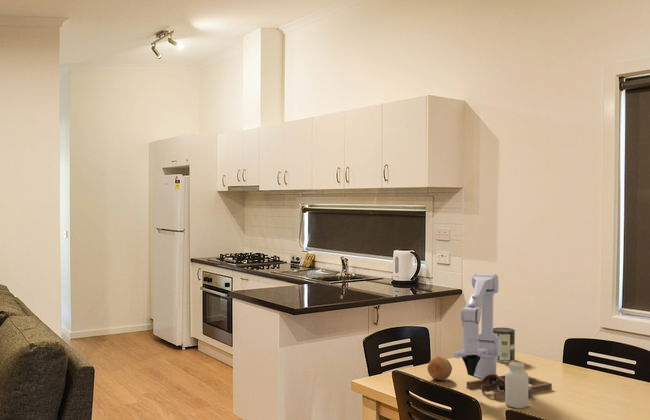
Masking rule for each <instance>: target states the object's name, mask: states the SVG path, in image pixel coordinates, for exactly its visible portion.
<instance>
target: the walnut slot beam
mask: <svg viewBox="0 0 650 420" xmlns="http://www.w3.org/2000/svg"><path fill="white" fill-rule="evenodd" d="M498 376H499V377H501V378H502V379H503V380H504V381H505V375H498ZM481 381H482V379H481V378H479V379H474V380H469V381H466V388H467V389H476V388H482V382H481ZM484 384H485V385H490V382H489V379H488V380H486V381H485V382H484ZM528 387H531V395H533V394H537V393H542V392H543V393H544V392H547V391H548V392H549V391H552V390H553V387H552V383H551V382H547V381H546V380H542V379H538V378H536V377H533V376H530V375H528ZM493 400H496V401H500V400H505V391H500V390H499V391H495V392H493Z"/></svg>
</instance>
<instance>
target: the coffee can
mask: <svg viewBox="0 0 650 420" xmlns="http://www.w3.org/2000/svg"><path fill="white" fill-rule="evenodd" d="M515 332H516V330H515V329H513V328H510V327H493V333H494V334H496V335H497V336H498V337H499V339H500V346H501V350H500V355H499V356H497V357H496V363H510V362H516V354H515V353H516V352H515V351H516V350H515V349H516V347H515V346H516V343H515V342H516V341H515V340H516V339H515V335H516V334H515Z"/></svg>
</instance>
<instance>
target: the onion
mask: <svg viewBox="0 0 650 420" xmlns="http://www.w3.org/2000/svg"><path fill="white" fill-rule="evenodd" d="M452 371H453V366H452V363H451V362H450V361H449V359H448V358H447V357H445V356H443V355H435V356H434V357H432V358H431V359H430V361H429V362H428V364H427V373H428V374H429V376H430V377H431V378H432V379H433V380H435V381H436V380H437V381H445V380H447V379H448V378H449V377H450V376H451V374H452Z"/></svg>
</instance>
